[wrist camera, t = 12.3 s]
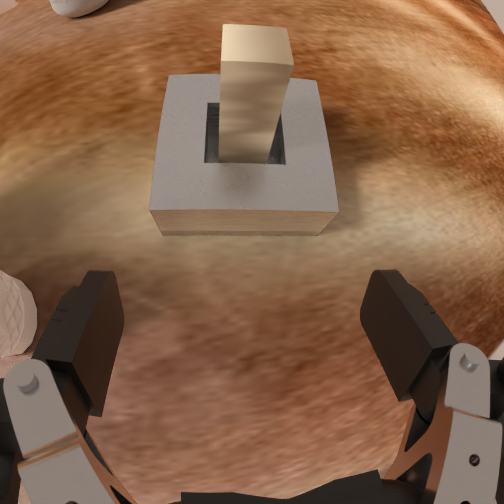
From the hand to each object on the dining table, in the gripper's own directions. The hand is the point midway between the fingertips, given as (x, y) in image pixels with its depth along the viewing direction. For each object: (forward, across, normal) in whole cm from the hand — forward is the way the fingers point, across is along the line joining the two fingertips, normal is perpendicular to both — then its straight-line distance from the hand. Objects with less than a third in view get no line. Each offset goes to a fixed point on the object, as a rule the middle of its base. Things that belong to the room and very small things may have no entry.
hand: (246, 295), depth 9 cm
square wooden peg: (+17, -1, 0) cm, 17 cm away
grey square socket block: (+18, -1, +1) cm, 18 cm away
